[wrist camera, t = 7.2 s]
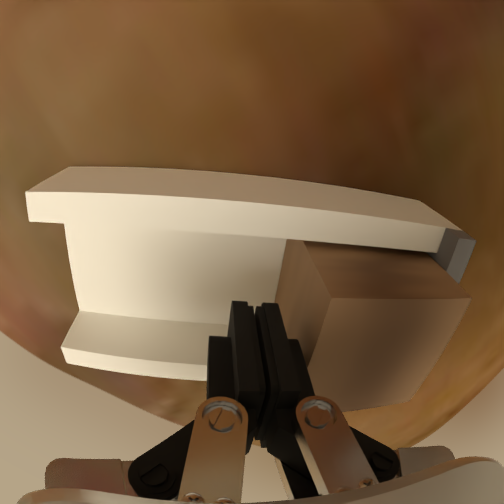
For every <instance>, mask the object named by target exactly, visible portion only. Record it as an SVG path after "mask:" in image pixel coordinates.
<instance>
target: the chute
mask: <svg viewBox="0 0 504 504" xmlns="http://www.w3.org/2000/svg"><path fill="white" fill-rule="evenodd" d="M25 193H26V201H27V209H28V217H29V221H30V222H50V223H64V225H65V233H66V241H67V248H68V254H69V260H70V266H71V272H72V277H73V282H74V287H75V292H76V297H77V301H78V305H79V310H80V311H79V312H78V314H77V316H76V318H75V320H74V322H73V324H72V326H71V328H70V330H69V332H68V333H67V335H66V337H65V339H64V341H63V343H62V345H61V349H62V351H63V354H64V357H65V359H66V362H67V363H70V364H75V365H80V366H85V367H91V368H96V369H102V370H109V371H115V372H122V373H129V374H137V375H145V376H153V377H163V378H174V379H186V380H200V381H207V357H208V341H209V336H225V337H227V333H228V325H229V317H230V309H231V302H232V300H233V301H247V302H248V306H253V308H254V314H255V309H256V306H261V304H262V303H263V302H265V303H274V301H275V296H276V291H277V286H278V281H279V276H280V271H281V266H282V261H283V256H284V251H285V246H286V240H287V239H295V240H307V241H318V242H329V243H340V244H351V245H362V246H373V247H383V248H393V249H404V250H414V251H423V252H426V253H427V254H428V255H429V256H430V257H431V258H432V259H434V260H435V261H436V262H437V263H438V264H439V265H440V266H441V267H442V268H443V269H444V270H445V271H446V272H447V273H448V274H449V275H450V276H451V277H452V278H453V279H454V280H455V281H456V282H457V283H458V284H459V283H460V280H461V278H462V276H463V273H464V271H465V269H466V266H467V264H468V261H469V259H470V256H471V254H472V251H473V249H474V246H475V243H476V240H475V239H473V238H472V237H471V236H469V235H468V234H467V233H465V232H464V231H463V230H461V229H460V228H458V227H457V226H456V225H454V224H453V223H451V222H450V221H449V220H447V219H446V218H444V217H443V216H441V215H440V214H439V213H437V212H436V211H434V210H433V209H431V208H430V207H428V206H427V205H425V204H424V203H422V202H421V201H419V200H414V199H409V198H404V197H399V196H394V195H388V194H383V193H377V192H372V191H366V190H360V189H354V188H348V187H341V186H335V185H328V184H321V183H314V182H307V181H299V180H292V179H283V178H275V177H266V176H257V175H247V174H236V173H225V172H213V171H200V170H184V169H167V168H144V167H95V166H82V167H68V168H66V169H64V170H62V171H60V172H59V173H57V174H55V175H53V176H51V177H50V178H48V179H46V180H44V181H43V182H41V183H39V184H38V185H36V186H34V187H33V188H31V189H29V190H28V191H26V192H25Z"/></svg>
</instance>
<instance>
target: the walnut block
mask: <svg viewBox="0 0 504 504" xmlns="http://www.w3.org/2000/svg"><path fill="white" fill-rule="evenodd" d="M471 300H472V297H471V296H470V295H469V294H468V293H467V292H466V291H465V290H464V289H463V288H462V287H461V286H460V285H459V284H458V283H457V282H456V281H455V280H454V279H453V278H452V277H451V276H450V275H449V274H448V273H447V272H446V271H445V270H444V269H443V268H442V267H441V266H440V265H439V264H438V263H437V262H436V261H435V260H434V259H432V258H431V257H430V256H429V255H428V254H427V253H426V252H423V251H414V250H404V249H393V248H383V247H373V246H362V245H351V244H340V243H329V242H318V241H307V240H295V239H287V240H286V246H285V251H284V256H283V261H282V266H281V271H280V276H279V281H278V286H277V291H276V296H275V301H274V303H278V305H279V308H280V312H281V315H282V319H283V323H284V327H285V330H286V334H287V338H288V339H297V340H298V341H299V343H300V346H301V349H302V353H303V356H304V359H305V363H306V366H307V369H308V373H309V376H310V379H311V383H312V386H313V389H314V393H315V396H322V397H326V398H328V399H330V400H332V401H333V402H334V403H336V404H337V405H338V407H339V408H340V410H341V412H346V411H354V410H361V409H368V408H375V407H381V406H387V405H392V404H398V403H403V402H408V401H410V400H411V398H412V397H413V396H414V394H415V393H416V391H417V390H418V389H419V387H420V386H421V384H422V383H423V382H424V380H425V379H426V377H427V376H428V374H429V373H430V371H431V370H432V368H433V367H434V365H435V363H436V362H437V360H438V359H439V357H440V356H441V354H442V352H443V351H444V349H445V347H446V346H447V344H448V342H449V341H450V339H451V337H452V335H453V334H454V332H455V330H456V328H457V327H458V325H459V323H460V321H461V319H462V317H463V315H464V313H465V312H466V310H467V308H468V306H469V304H470V302H471Z"/></svg>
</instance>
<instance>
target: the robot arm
mask: <svg viewBox="0 0 504 504" xmlns="http://www.w3.org/2000/svg"><path fill="white" fill-rule="evenodd" d="M253 438H255V440H260V443H261V448H267V451H268V452H269V453H270V454H272V455H273V456H274V458H275V463H276V466H277V469H278V472H279V475H280V477H281V480H282V483H283V486H284V489H285V491H286V494H287V497H288V500H285V501H273V502H259V503H258V502H257V503H241V496H242V485H243V473H244V463H245V455H246V454H247V453H248V452H249V450H250V447H251V444H252V441H253ZM17 504H504V467H503V466H502V465H501V464H500V463H499V462H498V461H496V460H494V459H491V458H487V457H477V456H474V457H464V458H458V459H455V457H454V455H453V453H452V452H451V451H450V449H448V448H446V447H444V446H429V447H412V448H398V449H397V450H392V449H391V448H389V447H387V446H386V445H384V444H382V443H380V442H378V441H376V440H374V439H372V438H370V437H369V436H367V435H365V434H363V433H361V432H359V431H358V430H356V429H354V428H352V427H350V426H349V425H348V423H347V421H346V419H345V417H344V415H343V414H342V412H341V410H340V408H339V407H338V405H337V404H336V403H334V402H333V401H332V400H330V399H328V398H326V397H322V396H315V393H314V389H313V386H312V383H311V379H310V376H309V373H308V369H307V366H306V363H305V359H304V356H303V353H302V349H301V346H300V343H299V341H298V340H297V339H288V338H287V334H286V330H285V327H284V323H283V319H282V315H281V312H280V308H279V305H278V303H265V302H263V303H262V304H261V306H256V309H255V314H254V308H253V306H248V302H247V301H233V300H232V302H231V309H230V317H229V325H228V333H227V337H225V336H209V341H208V357H207V400H206V401H204V402H203V403H202V404H201V405H200V406H199V407H198V410H197V412H196V417H195V420H193V421H192V422H190V423H189V424H188V425H186V426H185V427H183V428H182V429H180V430H179V431H177V432H176V433H175V434H173V435H172V436H170V437H169V438H167V439H166V440H164V441H163V442H161V443H160V444H158V445H157V446H155V447H153V448H152V449H150V450H149V451H147V452H146V453H144V454H143V455H141V456H139V457H138V458H137V459H135V460H134V461H121V460H120V459H71V458H59V459H55V460H53V461H52V462H50V463H49V465H48V466H47V467H46V472H45V489H42V490H37V491H33V492H30V493H27V494H26V495H24V496H23V497H22V498H21V499H20V500H19V501H18V502H17Z"/></svg>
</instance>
